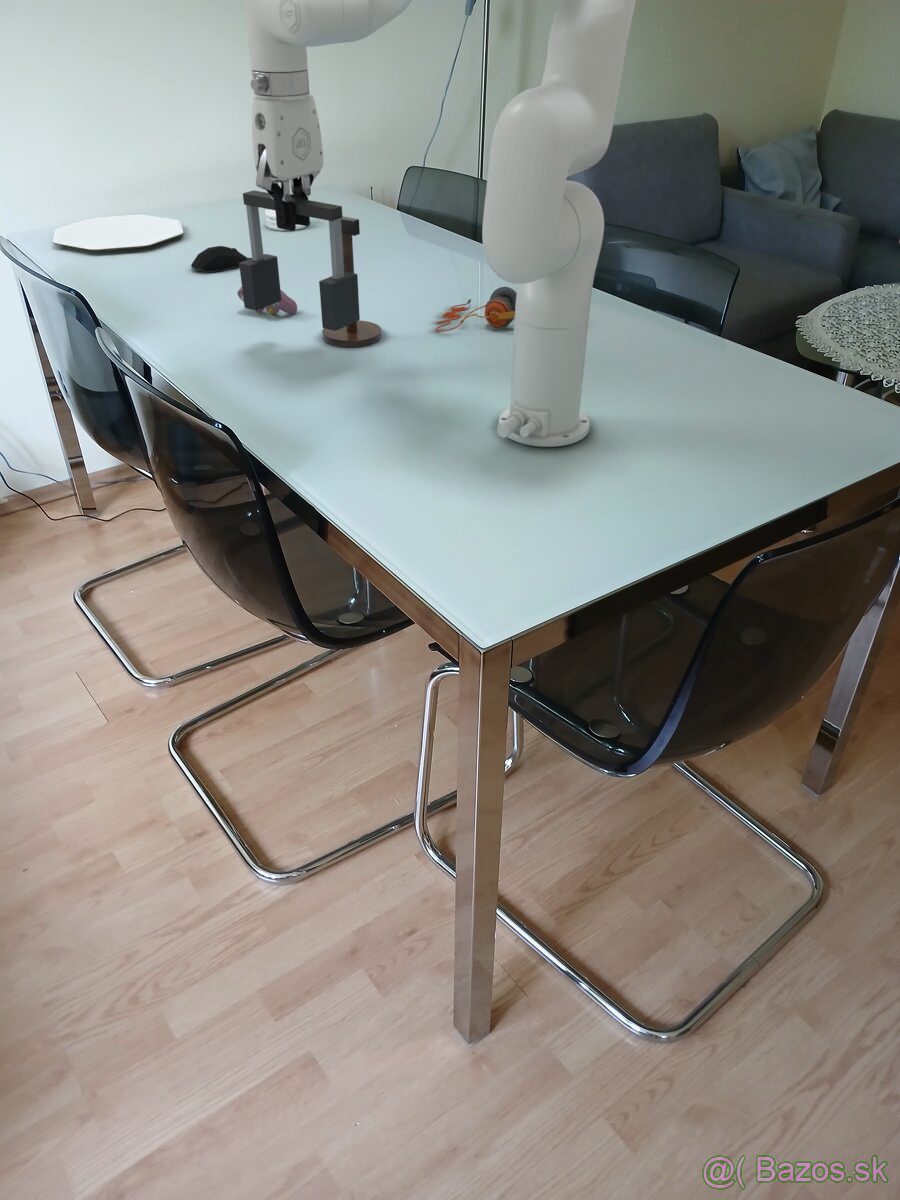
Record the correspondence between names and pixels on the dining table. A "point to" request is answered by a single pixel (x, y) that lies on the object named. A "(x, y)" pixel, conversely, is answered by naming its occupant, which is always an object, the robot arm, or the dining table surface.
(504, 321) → the headphones
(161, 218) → the plate
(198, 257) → the gaming mouse
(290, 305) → the video game controller
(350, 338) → the headphone stand
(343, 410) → the dining table surface
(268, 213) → the stack of white coasters
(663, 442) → the dining table surface
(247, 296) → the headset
